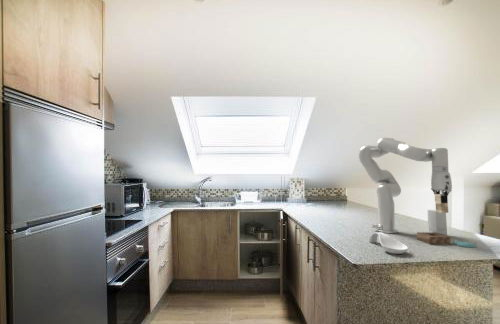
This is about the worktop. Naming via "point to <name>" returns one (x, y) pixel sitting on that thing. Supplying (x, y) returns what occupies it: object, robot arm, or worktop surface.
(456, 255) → the worktop surface
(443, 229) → the skincare box
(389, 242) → the spoon rest
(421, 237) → the walnut socket block
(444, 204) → the maple peg
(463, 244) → the teal rubber pad
